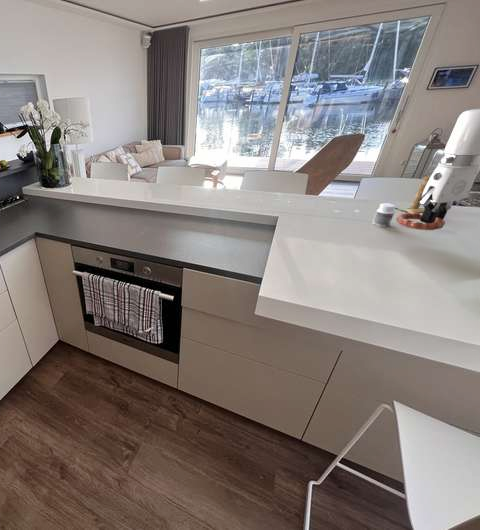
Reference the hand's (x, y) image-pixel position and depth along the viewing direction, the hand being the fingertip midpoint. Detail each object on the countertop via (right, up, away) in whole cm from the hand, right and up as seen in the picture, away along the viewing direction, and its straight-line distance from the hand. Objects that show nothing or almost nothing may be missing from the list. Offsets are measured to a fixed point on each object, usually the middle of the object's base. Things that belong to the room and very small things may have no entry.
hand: (430, 221), depth 88 cm
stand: (+22, +9, +27) cm, 36 cm away
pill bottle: (0, +1, +17) cm, 17 cm away
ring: (-4, 0, -1) cm, 4 cm away
